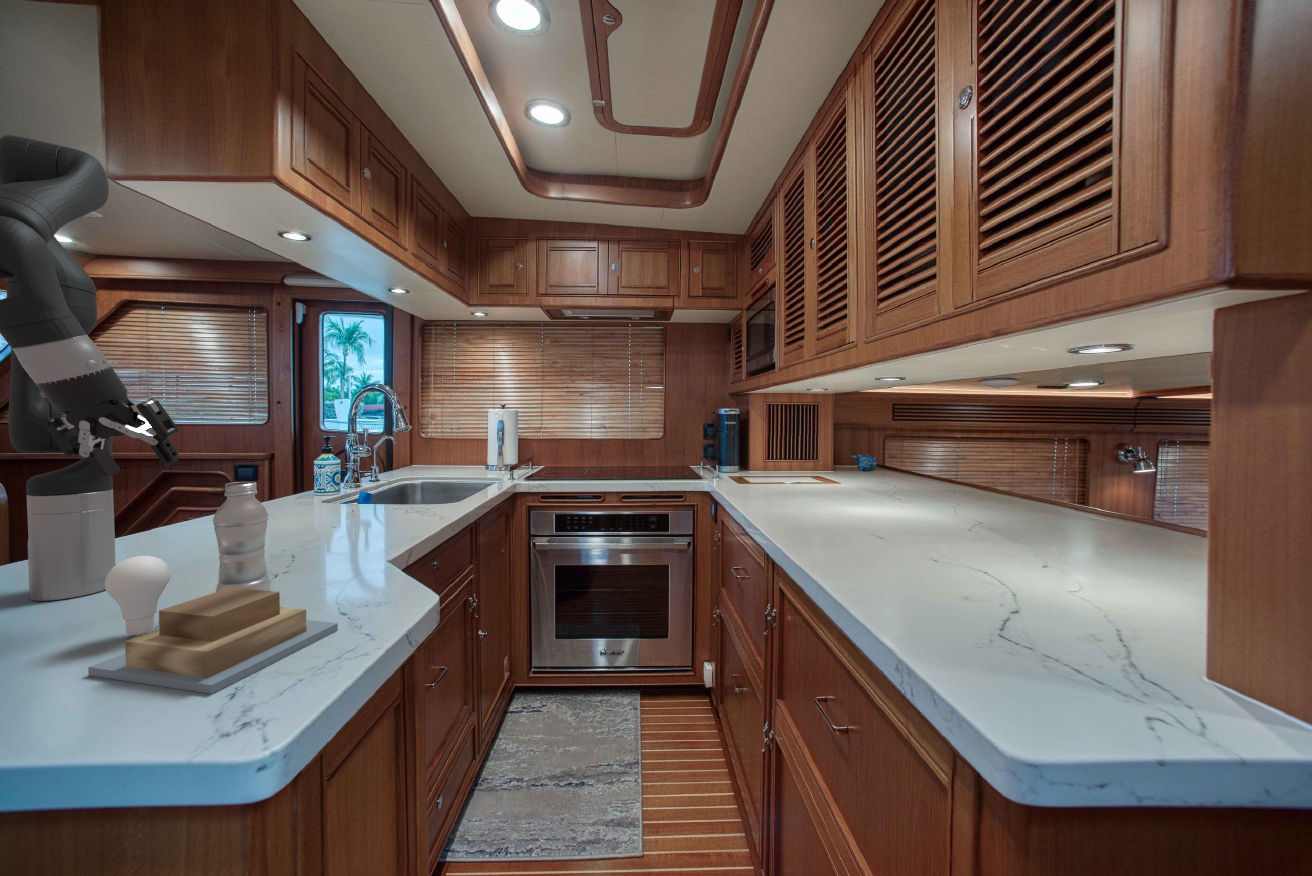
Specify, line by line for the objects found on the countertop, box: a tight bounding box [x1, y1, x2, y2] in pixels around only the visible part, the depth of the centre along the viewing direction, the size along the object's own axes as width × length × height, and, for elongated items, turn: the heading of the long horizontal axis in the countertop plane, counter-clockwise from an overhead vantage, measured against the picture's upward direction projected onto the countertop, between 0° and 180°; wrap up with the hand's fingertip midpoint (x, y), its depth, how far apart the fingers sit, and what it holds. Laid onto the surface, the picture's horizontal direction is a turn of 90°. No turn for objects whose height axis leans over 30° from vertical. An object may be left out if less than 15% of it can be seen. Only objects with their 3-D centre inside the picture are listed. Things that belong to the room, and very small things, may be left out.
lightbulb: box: [105, 555, 172, 637], centre depth 64 cm, size 6×6×11 cm
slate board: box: [87, 619, 339, 695], centre depth 61 cm, size 18×16×1 cm
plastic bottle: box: [212, 481, 272, 592], centre depth 73 cm, size 6×7×20 cm
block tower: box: [124, 587, 307, 678], centre depth 59 cm, size 12×12×6 cm
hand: (142, 468), depth 74 cm, fingers open, 8 cm apart
